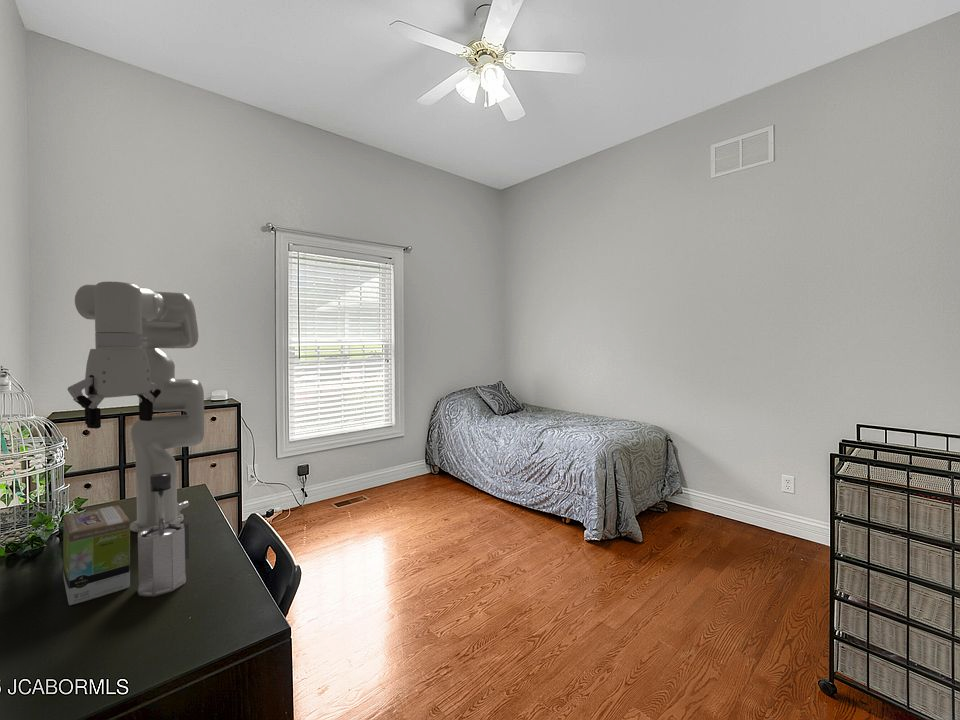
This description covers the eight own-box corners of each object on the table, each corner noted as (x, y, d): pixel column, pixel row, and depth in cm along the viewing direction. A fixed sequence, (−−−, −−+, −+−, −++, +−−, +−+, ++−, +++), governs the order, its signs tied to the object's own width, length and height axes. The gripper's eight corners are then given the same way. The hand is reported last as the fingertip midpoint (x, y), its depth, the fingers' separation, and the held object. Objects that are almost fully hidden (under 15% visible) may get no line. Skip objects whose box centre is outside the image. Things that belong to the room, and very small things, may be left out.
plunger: (161, 530, 96) (160, 471, 96) (183, 532, 96) (182, 472, 96) (139, 541, 91) (137, 478, 91) (162, 542, 90) (161, 479, 90)
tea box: (132, 587, 93) (131, 519, 93) (67, 608, 86) (66, 533, 85) (120, 564, 103) (119, 502, 103) (62, 580, 96) (60, 514, 96)
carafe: (170, 569, 101) (169, 518, 100) (203, 571, 100) (202, 519, 99) (127, 595, 90) (126, 537, 90) (163, 597, 89) (162, 539, 89)
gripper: (150, 343, 100) (152, 417, 100) (56, 341, 84) (58, 430, 84) (173, 342, 97) (175, 418, 98) (80, 341, 81) (82, 432, 81)
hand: (121, 424), depth 91 cm, fingers open, 9 cm apart
